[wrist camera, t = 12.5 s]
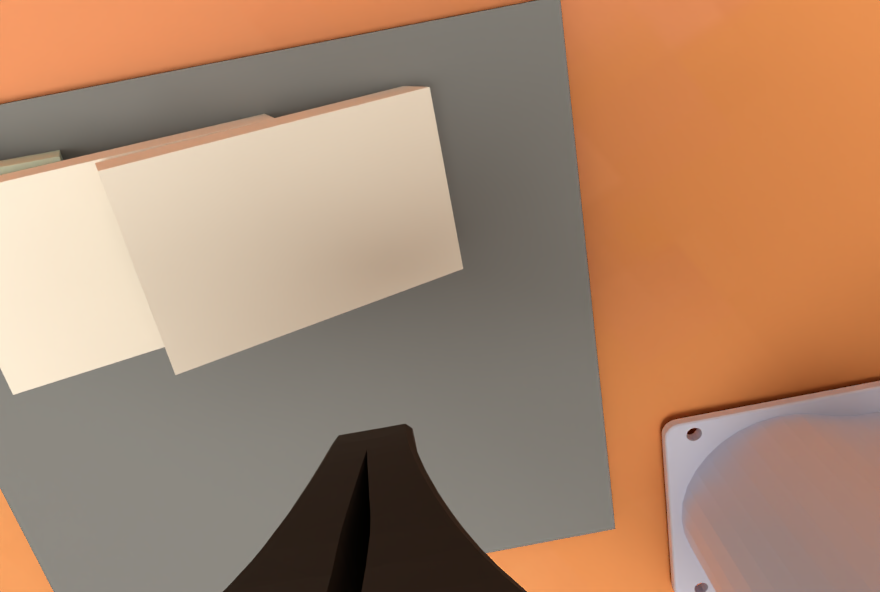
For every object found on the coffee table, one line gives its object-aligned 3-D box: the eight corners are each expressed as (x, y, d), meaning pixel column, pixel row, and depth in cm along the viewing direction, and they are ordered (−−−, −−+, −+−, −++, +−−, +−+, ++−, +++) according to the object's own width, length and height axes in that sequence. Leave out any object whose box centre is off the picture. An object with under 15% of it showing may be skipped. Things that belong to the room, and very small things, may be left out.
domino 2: (429, 87, 18) (97, 170, 15) (463, 268, 20) (175, 375, 17) (403, 86, 19) (94, 163, 16) (437, 256, 21) (167, 353, 18)
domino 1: (274, 118, 18) (-81, 201, 16) (322, 297, 20) (13, 394, 17) (264, 113, 19) (-63, 189, 17) (310, 281, 21) (22, 370, 19)
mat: (555, -4, 19) (559, -4, 19) (611, 519, 26) (615, 528, 25) (-167, 136, 19) (-180, 139, 19) (79, 619, 26) (74, 630, 26)
